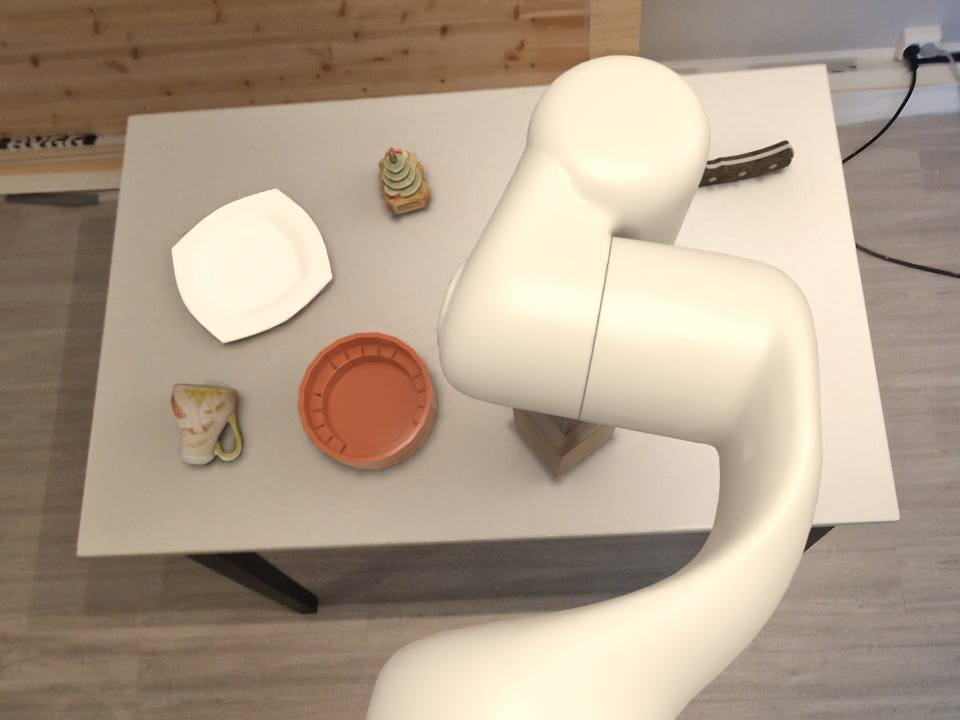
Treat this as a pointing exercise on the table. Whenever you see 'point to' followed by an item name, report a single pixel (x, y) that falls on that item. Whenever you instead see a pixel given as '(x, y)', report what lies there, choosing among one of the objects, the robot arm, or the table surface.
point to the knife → (748, 164)
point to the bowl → (368, 401)
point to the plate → (250, 265)
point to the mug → (204, 421)
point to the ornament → (403, 181)
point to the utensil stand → (560, 438)
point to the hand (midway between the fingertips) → (577, 351)
